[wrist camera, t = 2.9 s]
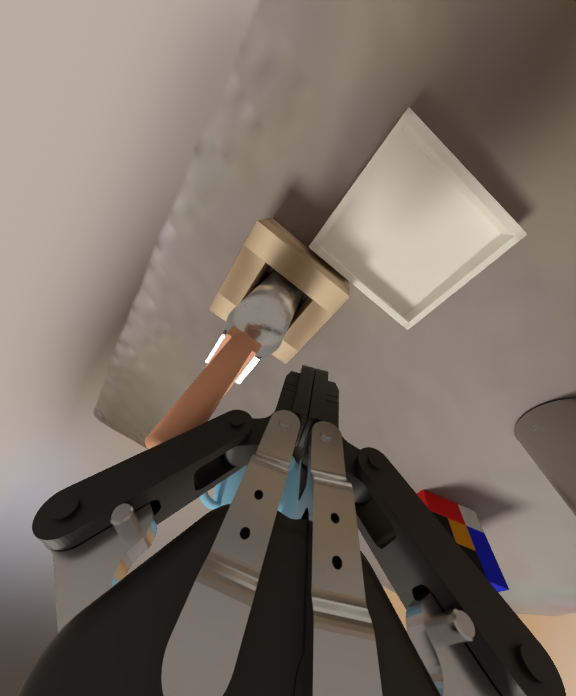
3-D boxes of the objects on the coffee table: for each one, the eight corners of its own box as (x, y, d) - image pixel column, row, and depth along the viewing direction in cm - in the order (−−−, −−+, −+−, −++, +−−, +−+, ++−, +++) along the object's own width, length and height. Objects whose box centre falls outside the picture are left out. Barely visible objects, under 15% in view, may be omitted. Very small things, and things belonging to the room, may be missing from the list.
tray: (508, 231, 20) (527, 234, 18) (402, 320, 25) (407, 329, 23) (400, 118, 18) (408, 106, 16) (311, 243, 23) (308, 246, 21)
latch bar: (276, 344, 16) (218, 467, 9) (197, 440, 24) (132, 547, 17) (229, 310, 16) (119, 410, 8) (164, 421, 24) (80, 522, 16)
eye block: (348, 281, 24) (349, 296, 20) (293, 342, 30) (285, 364, 25) (272, 218, 23) (257, 220, 19) (228, 294, 28) (208, 309, 24)
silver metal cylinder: (311, 285, 25) (294, 329, 16) (288, 313, 28) (262, 366, 19) (279, 259, 25) (243, 290, 16) (259, 291, 27) (216, 334, 18)
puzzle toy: (474, 510, 40) (509, 589, 32) (435, 529, 46) (456, 601, 38) (423, 489, 40) (444, 563, 32) (389, 510, 46) (400, 578, 37)
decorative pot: (308, 437, 39) (294, 532, 28) (310, 489, 47) (300, 579, 36) (220, 427, 42) (176, 507, 31) (236, 477, 51) (206, 555, 39)
